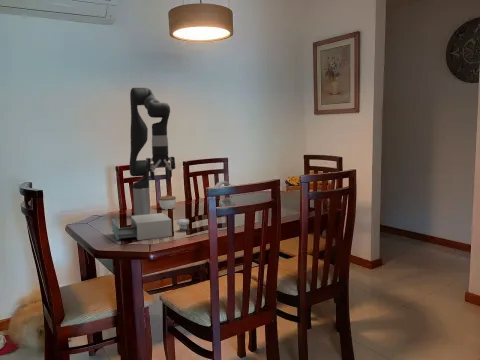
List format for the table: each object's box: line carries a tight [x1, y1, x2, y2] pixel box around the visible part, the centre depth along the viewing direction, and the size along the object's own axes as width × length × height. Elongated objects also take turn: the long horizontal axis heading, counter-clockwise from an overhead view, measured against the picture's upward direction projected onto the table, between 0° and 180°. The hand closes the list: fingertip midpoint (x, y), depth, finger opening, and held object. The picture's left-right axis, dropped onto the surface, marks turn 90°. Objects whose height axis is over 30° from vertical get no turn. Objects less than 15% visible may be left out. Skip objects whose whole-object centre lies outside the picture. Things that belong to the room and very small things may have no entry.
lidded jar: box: [158, 194, 177, 211], centre depth 259 cm, size 11×11×9 cm
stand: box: [178, 224, 188, 232], centre depth 204 cm, size 4×4×4 cm
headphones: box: [214, 180, 236, 207], centre depth 240 cm, size 19×9×20 cm, turn 145°
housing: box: [130, 212, 173, 241], centre depth 197 cm, size 18×16×8 cm
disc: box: [176, 218, 190, 226], centre depth 203 cm, size 6×6×2 cm
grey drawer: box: [111, 218, 137, 241], centre depth 193 cm, size 18×16×6 cm
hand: (161, 178), depth 194 cm, fingers open, 8 cm apart
